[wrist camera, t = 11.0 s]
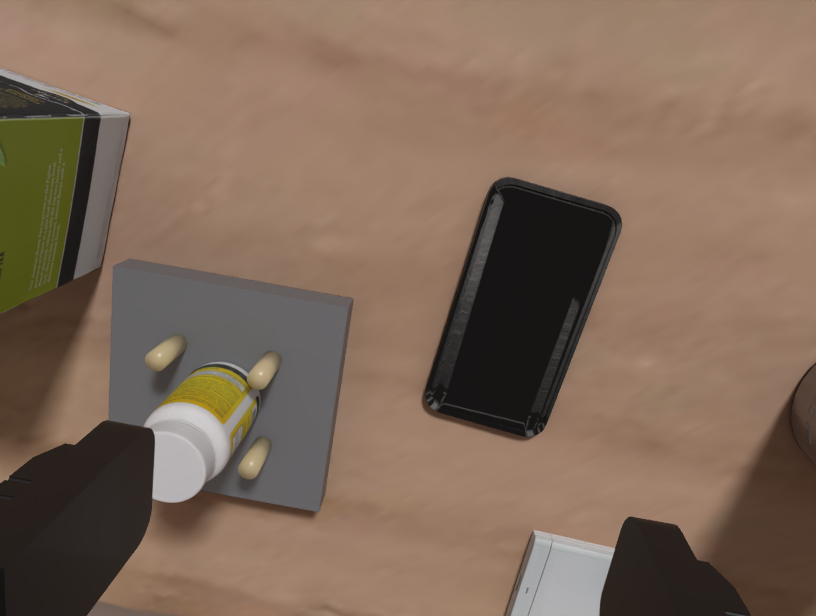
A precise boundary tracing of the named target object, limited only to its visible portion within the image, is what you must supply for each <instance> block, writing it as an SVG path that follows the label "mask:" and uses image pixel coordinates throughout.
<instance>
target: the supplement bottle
mask: <svg viewBox="0 0 816 616" xmlns="http://www.w3.org/2000/svg"><path fill="white" fill-rule="evenodd" d="M247 376H248V373H247V372H246V371H245V370H243V369H242V368H240V367H238V366H236V365H234V364H231V363H227V362H211V363H208V364H205V365H202V366H200V367H199V368H197V369H196V370H194V371H193V372H192V373H191V374H190V375H189V376H188V377H187V378H186V379H185V380H184V381H183V382H182V383H181V384H180V385H179V386H178V387H177V388H176V389H175V390H174V391H173V392H172V393H171V394H170V395H169V396H168V397H167V398H166V399H165V400H164V401H163V402H162V403H161V404H160V405H159V406H158V407H157V408H156V409H155V410H154V411H153V412H152V413H151V414H150V416H149V417H148V419H147V420H146V422H145V424H144V426H143V427H147V428H151V429H152V430H153V432H154V435H155V454H154V474H153V495H152V498H153V499H155V500H158V501H162V502H168V503H176V502H182V501H185V500H188V499H190V498H191V497H193V496H195V495H196V494H197V493H198V492H199V491H200V490H201V489H202V487H203V486H204V484H205V483H206V482H207V481H209V480H211V479H213V478H214V477H215V476H217V475H218V474H219V473H220V472H221V471H222V470H223V469H224V467H225V466H226V464H227V463H228V461H229V459H230V458H231V456H232V455H233V453H234V452H235V450H236V449H237V447H238V445H239V444H240V442H241V441H242V439H243V438H244V436H245V435H246V433H247V431H248V430H249V428H250V427H251V425H252V424H253V422H254V421H255V419H256V417H257V415H258V413H259V410H260V405H261V398H260V392H259V390H256V389H253V388H251V387H250V386H249V384H248V382H247Z"/></svg>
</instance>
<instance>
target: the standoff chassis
mask: <svg viewBox="0 0 816 616" xmlns="http://www.w3.org/2000/svg"><path fill="white" fill-rule="evenodd" d="M352 305H353V298H348V297H342V296H336V295H331V294H325V293H320V292H314V291H308V290H303V289H297V288H291V287H286V286H280V285H275V284H269V283H263V282H258V281H252V280H247V279H241V278H235V277H230V276H224V275H219V274H213V273H207V272H202V271H196V270H191V269H185V268H179V267H174V266H168V265H163V264H157V263H151V262H146V261H140V260H135V259H128V260H125V261H123V262H121V263H118V264H116V265H114V266H113V284H112V319H111V354H110V389H109V421H114V422H120V423H125V424H131V425H136V426H142V427H143V426H144V424H145V422H146V420H147V419H148V417H149V416H150V414H151V413H152V412H153V411H154V410H155V409H156V408H157V407H158V406H159V405H160V404H161V403H162V402H163V401H164V400H165V399H166V398H167V397H168V396H169V395H170V394H171V393H172V392H173V391H174V390H175V389H176V388H177V387H178V386H179V385H180V384H181V383H182V382H183V381H184V380H185V379H186V378H187V377H188V376H189V375H190V374H191V373H192V372H193V371H194V370H196V369H197V368H199V367H200V366H202V365H205V364H208V363H211V362H227V363H231V364H234V365H236V366H238V367H240V368H242V369H243V370H245V371H246V372H247V373H248V376H247V382H248V384H249V386H250V387H251V388H253V389H256V390H259V392H260V398H261V405H260V410H259V413H258V415H257V417H256V419H255V421H254V422H253V424H252V425H251V427H250V428H249V430H248V431H247V433H246V435H245V436H244V438H243V439H242V441H241V442H240V444H239V445H238V447H237V449H236V450H235V452H234V453H233V455H232V456H231V458H230V459H229V461H228V463H227V464H226V466H225V467H224V469H223V470H222V471H221V472H220V473H219V474H218V475H217V476H215V477H214V478H213V479H211V480H209V481H207V482H206V483H205V484H204V486H203V487H202V489H201V491H206V492H212V493H217V494H223V495H228V496H234V497H239V498H244V499H250V500H255V501H261V502H266V503H272V504H277V505H282V506H288V507H293V508H299V509H304V510H310V511H315V512H319V511H320V508H321V505H322V502H323V499H324V496H325V490H326V483H327V477H328V470H329V463H330V456H331V449H332V442H333V436H334V429H335V422H336V415H337V408H338V401H339V394H340V388H341V381H342V374H343V367H344V360H345V353H346V347H347V340H348V333H349V326H350V319H351V312H352Z"/></svg>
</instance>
